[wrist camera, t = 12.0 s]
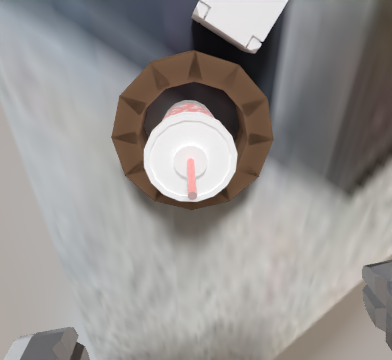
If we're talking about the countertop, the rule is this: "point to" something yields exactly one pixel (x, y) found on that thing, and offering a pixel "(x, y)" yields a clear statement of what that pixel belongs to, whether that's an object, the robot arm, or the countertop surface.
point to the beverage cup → (190, 153)
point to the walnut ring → (182, 74)
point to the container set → (239, 20)
